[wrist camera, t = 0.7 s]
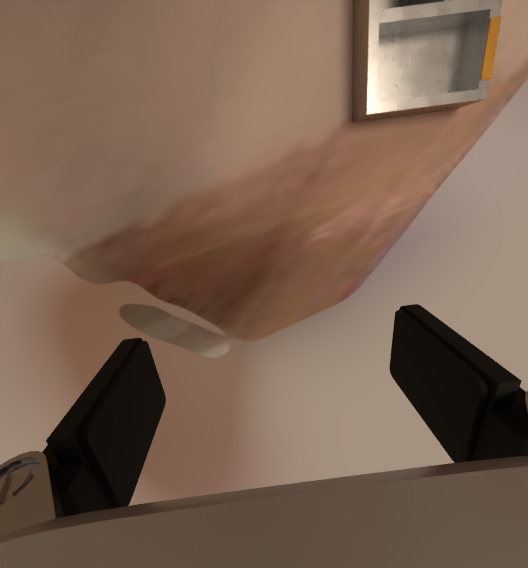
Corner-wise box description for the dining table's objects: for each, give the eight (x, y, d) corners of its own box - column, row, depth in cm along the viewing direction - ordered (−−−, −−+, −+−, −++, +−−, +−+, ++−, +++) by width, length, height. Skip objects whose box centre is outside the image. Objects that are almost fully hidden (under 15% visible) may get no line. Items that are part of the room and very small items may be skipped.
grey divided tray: (354, -65, 26) (379, -122, 21) (486, -81, 26) (541, -142, 21) (352, 122, 32) (372, 111, 27) (460, 108, 32) (498, 95, 27)
